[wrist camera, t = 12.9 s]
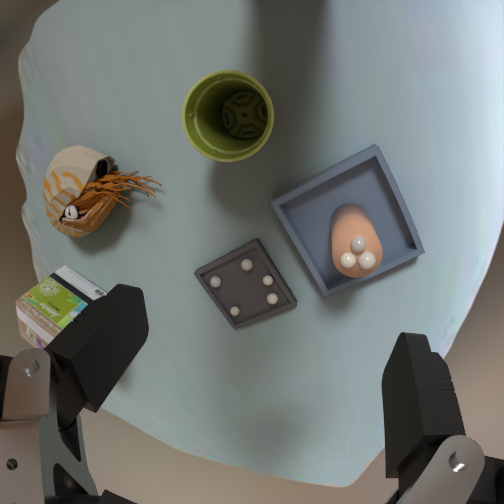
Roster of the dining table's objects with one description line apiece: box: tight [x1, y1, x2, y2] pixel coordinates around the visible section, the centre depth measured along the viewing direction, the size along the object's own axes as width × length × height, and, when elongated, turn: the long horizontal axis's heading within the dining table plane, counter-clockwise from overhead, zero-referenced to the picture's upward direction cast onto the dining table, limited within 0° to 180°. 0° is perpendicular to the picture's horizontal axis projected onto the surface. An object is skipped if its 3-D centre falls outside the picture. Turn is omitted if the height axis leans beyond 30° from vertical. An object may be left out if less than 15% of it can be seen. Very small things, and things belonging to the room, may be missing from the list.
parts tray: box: [194, 238, 297, 329], centre depth 46 cm, size 11×11×2 cm
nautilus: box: [43, 145, 162, 238], centre depth 42 cm, size 8×22×15 cm
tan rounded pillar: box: [331, 203, 383, 278], centre depth 34 cm, size 5×5×11 cm
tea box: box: [16, 265, 107, 349], centre depth 50 cm, size 15×10×15 cm
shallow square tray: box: [270, 144, 425, 297], centre depth 38 cm, size 15×15×2 cm
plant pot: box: [182, 70, 274, 162], centre depth 33 cm, size 9×9×9 cm
